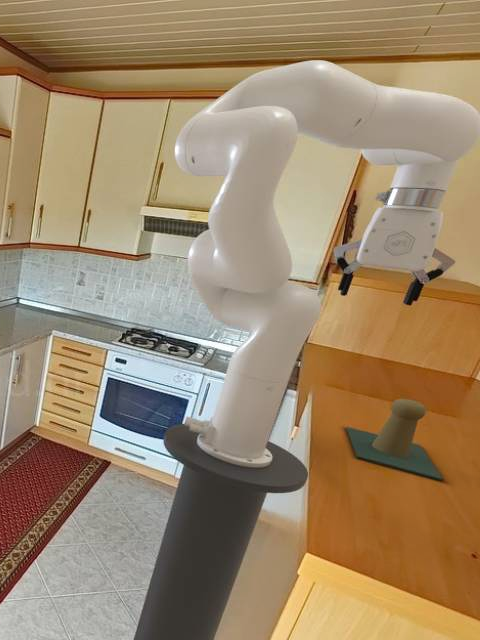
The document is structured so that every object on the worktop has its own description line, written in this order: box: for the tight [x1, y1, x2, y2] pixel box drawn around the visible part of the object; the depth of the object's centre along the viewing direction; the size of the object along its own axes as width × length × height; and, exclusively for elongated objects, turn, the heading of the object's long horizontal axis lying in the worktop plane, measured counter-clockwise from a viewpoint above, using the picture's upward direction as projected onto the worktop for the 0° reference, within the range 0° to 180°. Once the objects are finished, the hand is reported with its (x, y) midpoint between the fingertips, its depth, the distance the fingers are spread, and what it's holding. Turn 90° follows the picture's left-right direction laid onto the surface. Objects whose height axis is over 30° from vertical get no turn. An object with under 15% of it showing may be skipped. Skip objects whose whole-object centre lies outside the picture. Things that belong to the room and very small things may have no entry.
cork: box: [372, 398, 427, 457], centre depth 99 cm, size 6×6×11 cm
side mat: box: [345, 426, 444, 482], centre depth 101 cm, size 13×18×1 cm
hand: (374, 299), depth 90 cm, fingers open, 9 cm apart
